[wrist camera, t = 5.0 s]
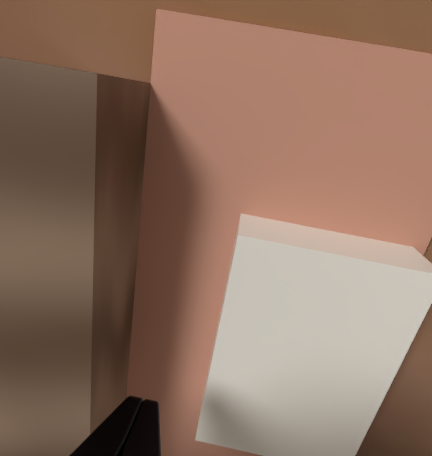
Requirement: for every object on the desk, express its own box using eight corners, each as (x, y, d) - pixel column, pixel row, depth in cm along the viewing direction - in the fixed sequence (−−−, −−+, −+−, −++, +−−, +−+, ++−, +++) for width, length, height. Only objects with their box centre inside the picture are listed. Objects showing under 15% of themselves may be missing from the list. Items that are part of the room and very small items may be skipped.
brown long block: (125, 425, 16) (88, 519, 13) (-6, 395, 17) (-80, 479, 13) (153, 83, 10) (96, 73, 7) (-53, 48, 11) (-215, 19, 7)
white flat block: (195, 440, 13) (202, 397, 15) (345, 474, 13) (334, 426, 14) (238, 235, 9) (240, 213, 11) (444, 276, 9) (413, 247, 11)
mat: (311, 493, 17) (312, 500, 16) (123, 451, 17) (121, 457, 17) (501, 67, 9) (509, 66, 9) (159, 11, 10) (156, 8, 9)
